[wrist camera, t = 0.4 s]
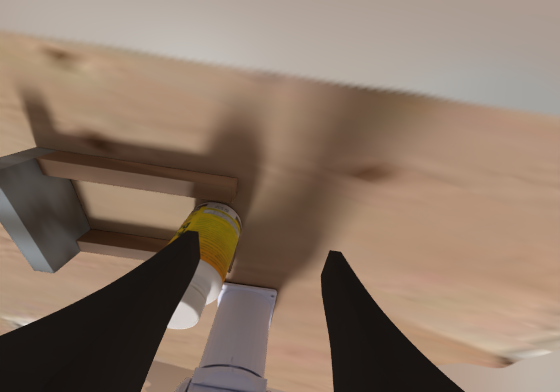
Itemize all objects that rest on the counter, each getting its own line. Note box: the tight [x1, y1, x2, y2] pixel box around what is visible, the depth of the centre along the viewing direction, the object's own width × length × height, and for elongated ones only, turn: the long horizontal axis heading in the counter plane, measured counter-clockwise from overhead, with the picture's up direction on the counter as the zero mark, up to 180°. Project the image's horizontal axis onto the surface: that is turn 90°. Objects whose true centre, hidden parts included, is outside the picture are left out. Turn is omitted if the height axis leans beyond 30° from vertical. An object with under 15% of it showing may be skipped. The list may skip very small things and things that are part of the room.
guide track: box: [0, 147, 238, 273], centre depth 20 cm, size 11×19×5 cm, turn 82°
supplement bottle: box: [167, 202, 242, 329], centre depth 18 cm, size 6×6×10 cm
